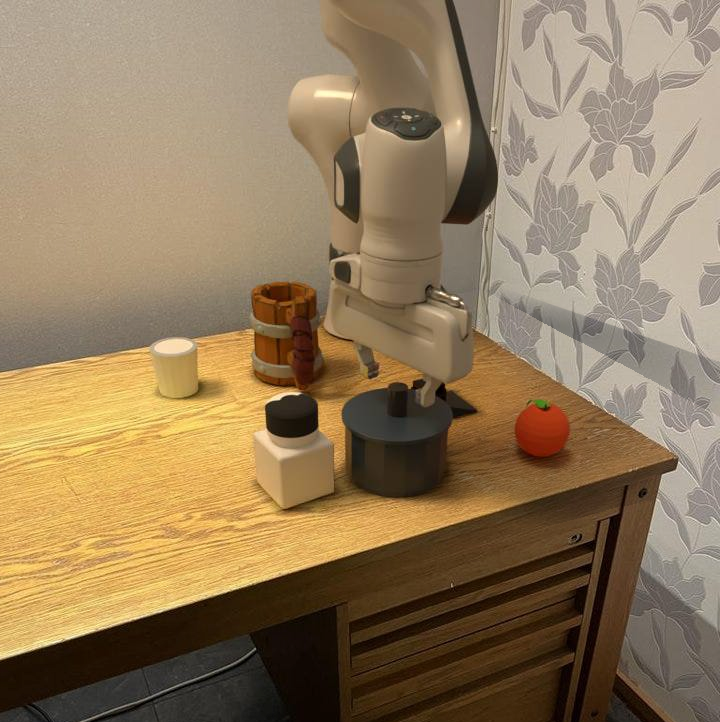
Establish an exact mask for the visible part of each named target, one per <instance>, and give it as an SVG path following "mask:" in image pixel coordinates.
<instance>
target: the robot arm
mask: <svg viewBox="0 0 720 722" xmlns="http://www.w3.org/2000/svg"><path fill="white" fill-rule="evenodd" d="M318 6H319V16H320V18H319V19H320V26H321V27H320V28H321V31H322V33H323V36H324V38H325V39H326V42H328V44H329V46H331V47H332V48H334V49H335V50H337V51H338V52H340V53H341V54H342V55H343V56H344V57H345V58H346V59H347V60H348V61H349V62H350V63H351V65H352V66H353V68H354V70H355V72H356V74H357V75H351V74H350V75H348V74H336V73H335V74H333V73H327V74H321V75H315V76H311V77H310V76H309V77H306V78H305V77H304V78H302V79H300V80H298V81H297V83H296V84H295V85H294V87H293V89H292V90H291V92H290V94H289V96H288V99H287V105H286V120H287V124H288V128H289V130H290V132H291V134H292V136H293V138H294V139H295V141H296V142H297V143H298V144H299V145H301V146H302V148H304V150H306V152H307V153H308V154H309V155H310V156H311V158H312V160H313V161H314V163H315V164H316V166H317V168H318V171H319V172H320V175H321V176H322V177H321V178H322V179H323V181H324V185H325V187H326V192H327V193H328V194H327V195H328V196H327V197H328V201H329V213H330V214H329V215H330V228H331V231H330V233H331V242H330V243H329V247H328V266H329V275H330V284H329V291H328V301H327V305H326V312H325V316H324V320H323V324H322V325H323V328H324V330H325V331H326V332H328V334H330V335H333V336H335V337H338V338H341V339H345V340H350V341H352V342H353V345H352V346H353V350H354V353H355V355H356V358H357V361H358V362H359V366H360V367H359V374H360V376H362V377H364V378H365V379H368V380H373V379H375V378H377V377H378V376H379V374H380V371H379V369H380V363H379V362H377V361H376V359H375V356H374V352H373V351H375V352H376V353H379V354H382V356H383V355H384V356H386V357H388V358H390V359H391V360H394V361H395V362H396V361H397V362H398V363H401V364H403V365H405V366H407V367H409V368H411V369H414V370H416V371H418V372H419V373H422V379H423V380H424V381H426V384H425V385H424V387H422V388H420V389H417V390H416V391H415V396H416V398H415V402H416V403H418V404H420V405H421V406H423V407H428V406H431V405H433V403H434V402H435V390H437V389H438V387H439V386H440V384H441V383H442V382H443V383H445V384H452V383H456V382H458V381H460V380H463V379H465V378H466V377H467V376H469V374H471V373H472V372H473V368H474V330H473V314H472V311H471V309H469V307H468V305H467V304H466V303H465V302H464V299H463V297H461V296H460V295H459V294H455V293H449V292H448V291H447V290H446V289H445V287H444V286H443V285H442V271H443V270H442V269H443V254H444V243H443V242H444V241H443V238H442V231H441V229H442V228H441V227H442V224H443V225H445V224H447V225H470V224H471V223H473V222H474V221H476V220H477V219H478V218H479V217H480V216H481V215H482V214H483V213H484V212H485V211H486V210H487V209H488V208H489V207H490V206H491V204H492V203H493V201H494V200H495V198H496V195H497V192H498V186H499V171H498V161H497V158H496V154H495V150H494V148H493V147H494V146H493V144H492V142H491V140H490V137H489V135H488V132H487V130H486V129H487V128H486V127H485V123H484V120H483V116H482V113H481V109H480V103H479V99H478V95H477V91H476V87H475V82H474V78H473V74H472V70H471V66H470V60H469V56H468V52H467V48H466V44H465V39H464V35H463V32H462V27H461V23H460V19H459V16H458V13H457V9H456V6H455V3H454V0H318ZM411 52H413V53H414V54H415V55H416V57H417V58H418V59H419V60H420V62H421V63H422V65H423V68H424V70H425V73H426V75H424V73H423V71H422V70H421V69H420V66H419V65H418V64H417V62H416V61H415V59H414V57H413V55H412V53H411Z"/></svg>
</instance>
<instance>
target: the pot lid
mask: <svg viewBox="0 0 720 722" xmlns="http://www.w3.org/2000/svg"><path fill="white" fill-rule="evenodd" d="M415 391H416V390H415V389H411V388H409V386H408V384H407V383H405V382H400V381H396V382H395V381H394V382H391V383H389V384H388V385H387V387H382V388H375V389H370V390H366V391H363V392H360V393H359V394H356V395H354V396H353V397H351V398H350V399H349V400H347V401H346V402H345V403H344V405H343V406H342V409H341V422H342V424H343V426H344V428H345V427H346V428H347V429H348V430H349V431H350V432H351V433H353V434H354V435H356V436H358V437H360V438H362V439H365V440H368V441H371V442H375V443H379V444H386V445H413V444H419V443H424V442H428V441H431V440H433V439H436V438H438V437H440V436H441V435H443V434H444V433H445V432H447V430H448V431H449V429H451V426H452V425H453V413H452V410H451V408H450V407H449V405H448V404H447V403H446V402H445V401H443V400H442V399H440V398H439V397H437V396H435V402H434V403H433V405H431V406H428V407H423V406H421V405H420V404H418V403H416V402H415V398H416V396H415Z"/></svg>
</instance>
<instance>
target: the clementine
mask: <svg viewBox="0 0 720 722" xmlns="http://www.w3.org/2000/svg"><path fill="white" fill-rule="evenodd" d="M531 402H533V404H530V403H531ZM570 433H571V426H570V422H569V419H568V415H566V413H565V412H564V411H563V409H561V408H560V407H558V406H557V405H555V404H553V403H550V402H547V401H546V400H544V399H540V398H536V399H535V398H534V399H529V400H528V401H527V403H526V406H525V408H524V409H523V410H522V411H521V412H520V413H519V415H518V416H517V418H516V421H515V424H514V437H515V440H516V443H517V444H518V445H519V446H520V448H521V449H522V450H523V451H524V452H525V453H527V454H529V455H530V456H534V457H539V458H544V457H549V456H553V455H555V454H558V452H559V451H561V450H562V449H563V448H564V447H565V445H566V444H567V443H568V440H569V437H570Z"/></svg>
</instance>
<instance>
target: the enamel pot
mask: <svg viewBox="0 0 720 722" xmlns="http://www.w3.org/2000/svg"><path fill="white" fill-rule="evenodd" d="M448 439H449V429H448V430H447V432H445V433H444V434H443V435H441V436H440V437H438V438H436V439H433V440H431V441H428V442H424V443H419V444H413V445H386V444H379V443H375V442H371V441H368V440H365V439H362V438H360V437H358V436H356V435H354V434H353V433H351V432H350V431H349V430H348V429H347V428H346V427H345V426H344V446H345V447H344V462H345V463H344V464H345V465H344V466H345V467H344V468H345V469H344V470H345V472H346V475H347V477H348V479H349V481H350V482H351V483H352V484H353V485H355V486H356V487H357V488H359V489H361V490H363V491H365V492H367V493H370V494H373V495H377V496H382V497H391V498H406V497H414V496H417V495H421V494H424V493H427V492H429V491H431V490H433V489H434V488H436V487H437V486H438V485H439V484H440V483H441V482H442V480H443V478H444V476H445V473H446V464H447V452H448V451H447V450H448Z"/></svg>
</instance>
